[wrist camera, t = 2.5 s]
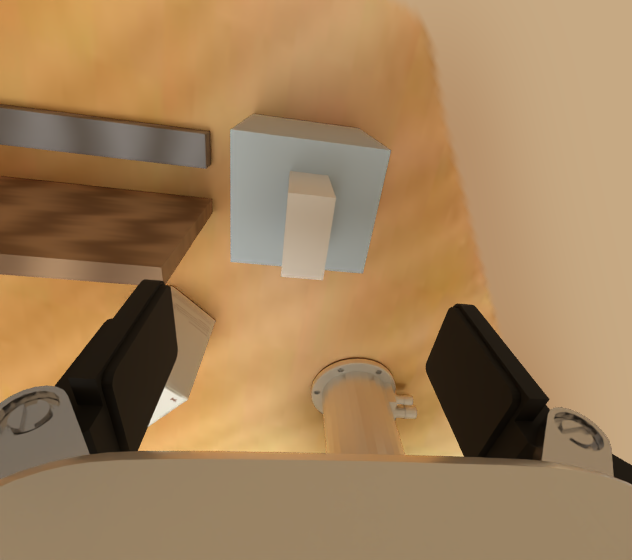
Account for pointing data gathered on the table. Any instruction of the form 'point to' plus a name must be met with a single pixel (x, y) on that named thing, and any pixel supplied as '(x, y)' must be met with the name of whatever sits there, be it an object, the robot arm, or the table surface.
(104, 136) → the walnut wall board
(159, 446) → the table surface
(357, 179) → the slate cabinet
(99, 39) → the table surface
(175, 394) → the supplement box
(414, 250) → the table surface
